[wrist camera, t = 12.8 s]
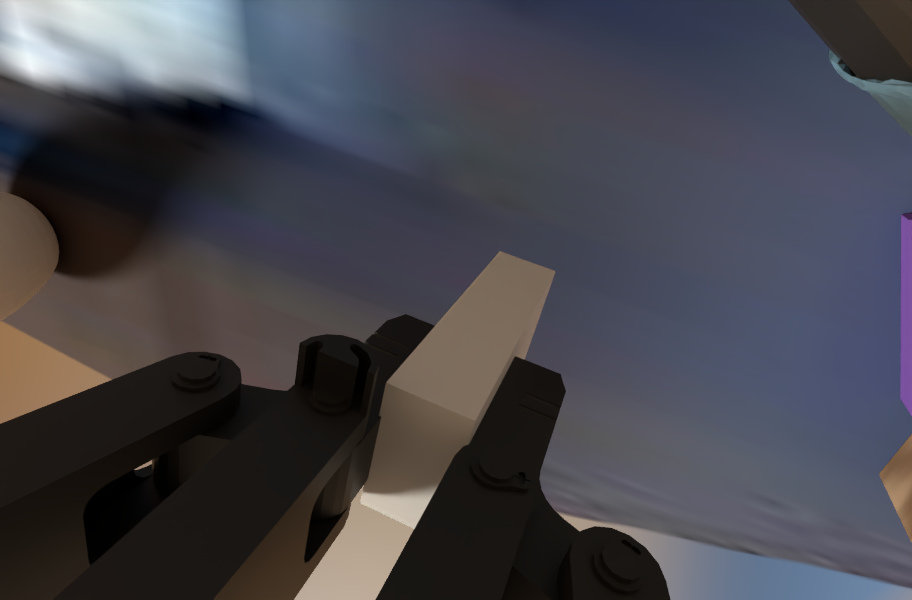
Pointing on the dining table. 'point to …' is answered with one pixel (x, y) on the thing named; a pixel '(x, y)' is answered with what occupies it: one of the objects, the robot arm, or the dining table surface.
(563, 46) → the dining table surface
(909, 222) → the bracket
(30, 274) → the vase
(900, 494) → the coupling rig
